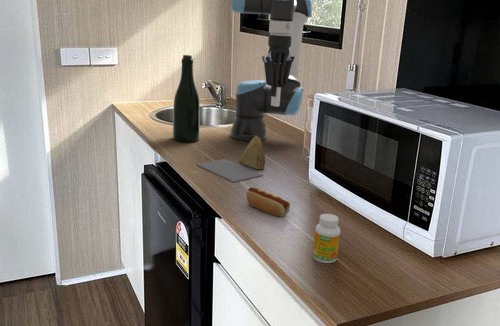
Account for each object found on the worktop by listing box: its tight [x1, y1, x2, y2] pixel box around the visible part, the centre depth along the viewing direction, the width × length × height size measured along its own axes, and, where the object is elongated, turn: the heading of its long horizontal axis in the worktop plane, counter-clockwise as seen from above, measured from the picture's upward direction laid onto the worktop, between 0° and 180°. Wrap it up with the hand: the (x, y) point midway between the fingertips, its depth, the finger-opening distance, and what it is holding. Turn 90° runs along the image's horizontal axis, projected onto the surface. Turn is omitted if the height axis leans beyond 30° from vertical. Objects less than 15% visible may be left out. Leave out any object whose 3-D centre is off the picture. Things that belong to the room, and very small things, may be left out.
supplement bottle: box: [312, 213, 341, 264], centre depth 106 cm, size 5×5×10 cm
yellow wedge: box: [238, 136, 266, 170], centre depth 166 cm, size 11×9×10 cm
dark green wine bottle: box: [172, 54, 201, 143], centre depth 189 cm, size 10×10×33 cm
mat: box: [196, 158, 264, 183], centre depth 161 cm, size 12×20×1 cm, turn 41°
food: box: [245, 187, 291, 217], centre depth 131 cm, size 14×6×5 cm, turn 45°
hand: (275, 105), depth 167 cm, fingers closed
